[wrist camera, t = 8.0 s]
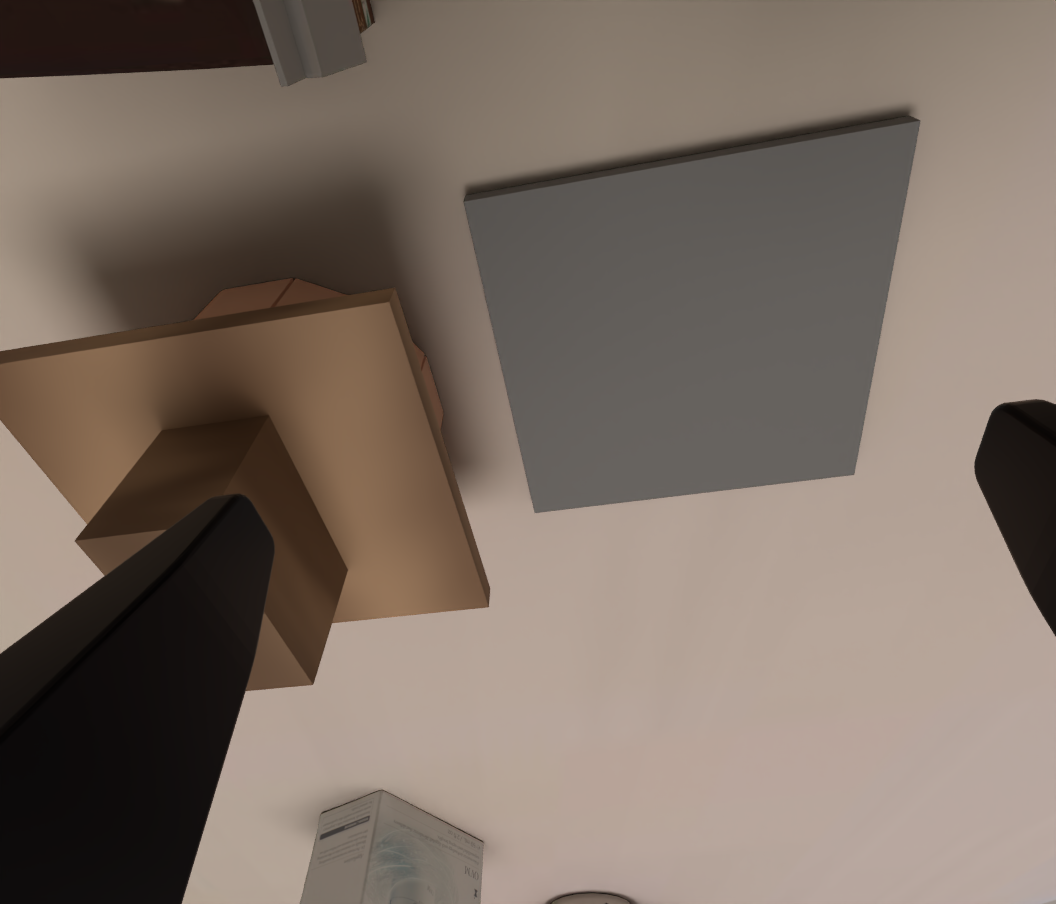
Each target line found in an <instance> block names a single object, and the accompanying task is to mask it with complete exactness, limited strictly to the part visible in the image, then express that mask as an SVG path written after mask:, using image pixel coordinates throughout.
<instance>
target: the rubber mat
mask: <svg viewBox="0 0 1056 904" xmlns="http://www.w3.org/2000/svg"><path fill="white" fill-rule="evenodd" d="M919 126H920V120H918V119H915V118H913V117H911V116H907V117H901V118H895V119H890V120H884V121H879V122H873V123H867V124H862V125H856V126H851V127H845V128H840V129H834V130H828V131H823V132H817V133H812V134H806V135H800V136H795V137H789V138H784V139H778V140H772V141H767V142H761V143H756V144H750V145H744V146H739V147H733V148H728V149H722V150H716V151H711V152H705V153H700V154H694V155H689V156H683V157H677V158H672V159H666V160H661V161H655V162H649V163H644V164H638V165H633V166H627V167H621V168H616V169H610V170H605V171H599V172H593V173H588V174H582V175H577V176H571V177H565V178H560V179H554V180H549V181H543V182H538V183H532V184H526V185H521V186H515V187H510V188H504V189H498V190H493V191H487V192H482V193H476V194H470V195H466V196H465V199H464V205H465V209H466V214H467V218H468V223H469V227H470V231H471V236H472V240H473V244H474V249H475V253H476V258H477V262H478V266H479V271H480V275H481V280H482V284H483V288H484V293H485V297H486V301H487V306H488V310H489V315H490V319H491V323H492V328H493V332H494V337H495V341H496V345H497V350H498V354H499V358H500V363H501V367H502V372H503V376H504V380H505V385H506V389H507V393H508V398H509V402H510V407H511V411H512V415H513V420H514V424H515V429H516V433H517V437H518V442H519V446H520V450H521V455H522V459H523V464H524V468H525V472H526V477H527V481H528V486H529V490H530V494H531V499H532V503H533V507H534V512H535V513H539V512H547V511H556V510H564V509H572V508H581V507H589V506H598V505H606V504H614V503H623V502H631V501H639V500H648V499H656V498H664V497H673V496H681V495H689V494H698V493H706V492H714V491H723V490H731V489H740V488H748V487H756V486H765V485H773V484H781V483H790V482H798V481H806V480H815V479H823V478H831V477H840V476H848V475H854V473H855V468H856V462H857V457H858V451H859V446H860V441H861V435H862V430H863V425H864V419H865V414H866V409H867V403H868V398H869V393H870V387H871V382H872V377H873V371H874V366H875V361H876V355H877V350H878V345H879V339H880V334H881V329H882V323H883V318H884V313H885V307H886V302H887V297H888V291H889V286H890V281H891V275H892V270H893V265H894V259H895V254H896V248H897V243H898V238H899V232H900V227H901V222H902V216H903V211H904V206H905V200H906V195H907V190H908V184H909V179H910V174H911V168H912V163H913V158H914V152H915V147H916V142H917V136H918V131H919Z"/></svg>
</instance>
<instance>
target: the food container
mask: <svg viewBox="0 0 1056 904" xmlns="http://www.w3.org/2000/svg"><path fill="white" fill-rule="evenodd" d="M373 23H375V21H374V17H373V12H372V8H371V4H370V0H0V78H19V77H44V76H69V75H91V74H112V73H132V72H153V71H173V70H194V69H211V68H226V67H241V66H257V65H272V64H274V66H275V69H276V72H277V75H278V78H279V81H280V85H281V86H289V85H291V84H294V83H296V82H298V81H300V80H302V79H305V78H316V77H325V76H328V75H331V74H334V73H337V72H339V71H342V70H345V69H348V68H351V67H354V66H357V65H360V64H363V63H366V62H367V60H366V56H365V52H364V48H363V44H362V40H361V35H360V34H361V33H362V32H363V31H365V30H366V29H367V28H368V27H370V26H371V25H372V24H373Z"/></svg>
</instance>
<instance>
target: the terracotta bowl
mask: <svg viewBox="0 0 1056 904" xmlns="http://www.w3.org/2000/svg"><path fill="white" fill-rule="evenodd" d="M340 296H346V294H343V293H339V292H336V291H333V290H330V289H327V288H324V287H321V286H318V285H315V284H312V283H309V282H306V281H303V280H300V279H297V278H296V279H295V280H293V278H289V279H283V280H277V281H271V282H265V283H259V284H253V285H248V286H242V287H236V288H230V289H224V290H222V291H220V292H219V293H218V294H217V295H216V296H215V297H214V298H213V299H212V300H211V301H210V303H209V304H208V305H207V306H206V307H205V308H204V309H203V310H202V311H201V312H200V313H199V314H198V315H197V316H196V317H195V318H194V319H193V320H197V319H204V318H210V317H216V316H222V315H228V314H235V313H241V312H247V311H253V310H259V309H266V308H272V307H278V306H284V305H290V304H296V303H303V302H309V301H315V300H321V299H327V298H334V297H340ZM413 345H414V349H415V352H416V355H417V358H418V361H419V364H420V368H421V371H422V374H423V377H424V380H425V383H426V387H427V390H428V393H429V396H430V399H431V402H432V406H433V409H434V412H435V415H436V418H437V421H438V425H439V428H440V430H441V425H442V420H443V409H442V406H441V402H440V399H439V396H438V393H437V389H436V386H435V383H434V380H433V376H432V373H431V370H430V367H429V363H428V360H427V357H426V356H424V354H425V353H423V352H422V351H421V350H420V349H419V348H418V347H417V346H416V345H415V344H414V343H413Z"/></svg>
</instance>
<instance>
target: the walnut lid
mask: <svg viewBox="0 0 1056 904" xmlns="http://www.w3.org/2000/svg"><path fill="white" fill-rule="evenodd" d="M0 420H1V421H2V423H3V424H4V425H5V426H6V427H7V429H8V430H9V431H10V432H11V433H12V435H13V436H14V437H15V438H16V439H17V441H18V442H19V443H20V444H21V445H22V447H23V448H24V449H25V450H26V451H27V453H28V454H29V455H30V456H31V457H32V459H33V460H34V461H35V462H36V463H37V465H38V466H39V467H40V468H41V469H42V471H43V472H44V473H45V474H46V475H47V477H48V478H49V479H50V480H51V481H52V483H53V484H54V485H55V486H56V487H57V489H58V490H59V491H60V492H61V493H62V495H63V496H64V497H65V498H66V499H67V501H68V502H69V503H70V504H71V505H72V507H73V508H74V509H75V510H76V511H77V513H78V514H79V515H80V516H81V518H82V519H83V520H84V521H85V522H86V524H87V526H86V527H85V528H84V530H83V531H82V532H81V533H80V535H79V536H78V537H77V538H76V540H75V542H76V543H77V544H78V545H79V547H80V548H81V549H82V550H83V551H84V552H85V553H86V555H87V556H88V557H89V558H90V559H91V560H92V561H93V563H94V564H95V565H96V566H97V567H98V568H99V570H100V571H101V572H102V573H103V574H104V575H107V574H108V573H109V572H111V571H112V570H113V569H115V568H116V567H117V566H119V565H120V564H121V563H123V562H124V561H126V560H127V559H128V558H130V557H131V556H132V555H134V554H135V553H136V552H138V551H139V550H140V549H142V548H143V547H144V546H146V545H147V544H148V543H150V542H151V541H152V540H154V539H155V538H156V537H158V536H159V535H160V534H162V533H163V532H164V531H166V530H167V529H168V528H170V527H171V526H172V525H174V524H175V523H177V522H178V521H179V520H181V519H182V518H183V517H185V516H186V515H187V514H189V513H190V512H191V511H193V510H194V509H195V508H197V507H198V506H199V505H201V504H202V503H203V502H205V501H206V500H207V499H209V498H211V497H214V496H219V495H228V494H236V493H240V494H244V495H246V496H247V497H248V498H249V499H250V500H251V501H252V503H253V505H254V506H255V508H256V510H257V511H258V513H259V515H260V516H261V518H262V520H263V521H264V523H265V524H266V526H267V528H268V529H269V531H270V533H271V535H272V537H273V540H274V544H275V556H274V561H273V567H272V572H271V577H270V583H269V588H268V593H267V599H266V604H265V610H264V615H263V620H262V626H261V631H260V636H259V642H258V646H257V651H256V655H255V659H254V663H253V667H252V671H251V674H250V678H249V681H248V684H247V688H246V691H251V690H262V689H273V688H284V687H295V686H306V685H313V684H314V680H315V677H316V674H317V671H318V667H319V664H320V661H321V657H322V654H323V651H324V648H325V644H326V641H327V638H328V634H329V631H330V628H331V625H332V623H338V622H348V621H358V620H367V619H377V618H387V617H397V616H407V615H416V614H426V613H436V612H446V611H456V610H465V609H475V608H485V607H489V597H490V586H489V583H488V580H487V577H486V574H485V570H484V567H483V564H482V561H481V558H480V555H479V551H478V548H477V545H476V542H475V539H474V536H473V532H472V529H471V526H470V523H469V520H468V517H467V513H466V510H465V507H464V504H463V501H462V498H461V494H460V491H459V488H458V485H457V482H456V479H455V475H454V472H453V469H452V466H451V463H450V460H449V456H448V453H447V450H446V447H445V444H444V440H443V437H442V434H441V431H440V428H439V425H438V421H437V418H436V415H435V412H434V409H433V406H432V402H431V399H430V396H429V393H428V390H427V387H426V383H425V380H424V377H423V374H422V371H421V368H420V364H419V361H418V358H417V355H416V352H415V349H414V345H413V342H412V339H411V336H410V333H409V330H408V326H407V323H406V320H405V317H404V314H403V310H402V307H401V304H400V301H399V298H398V295H397V291H396V288H389V289H383V290H377V291H371V292H365V293H358V294H352V295H346V296H340V297H334V298H327V299H321V300H315V301H309V302H303V303H296V304H290V305H284V306H278V307H272V308H266V309H259V310H253V311H247V312H241V313H235V314H228V315H222V316H216V317H210V318H204V319H197V320H191V321H185V322H179V323H173V324H166V325H160V326H154V327H148V328H142V329H135V330H129V331H123V332H117V333H111V334H105V335H98V336H92V337H86V338H80V339H74V340H67V341H61V342H55V343H49V344H43V345H36V346H30V347H24V348H18V349H12V350H5V351H0Z"/></svg>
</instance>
